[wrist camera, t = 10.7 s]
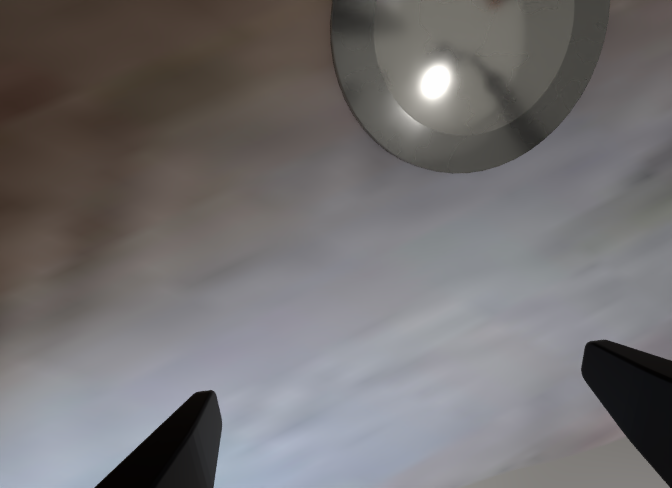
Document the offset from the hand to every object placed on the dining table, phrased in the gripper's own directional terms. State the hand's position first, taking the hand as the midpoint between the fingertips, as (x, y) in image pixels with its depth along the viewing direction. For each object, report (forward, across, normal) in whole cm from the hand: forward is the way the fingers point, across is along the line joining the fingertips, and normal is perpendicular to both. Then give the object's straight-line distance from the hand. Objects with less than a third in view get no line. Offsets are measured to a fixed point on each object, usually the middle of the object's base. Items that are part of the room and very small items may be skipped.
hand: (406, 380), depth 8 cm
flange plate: (+13, -7, -10) cm, 18 cm away
